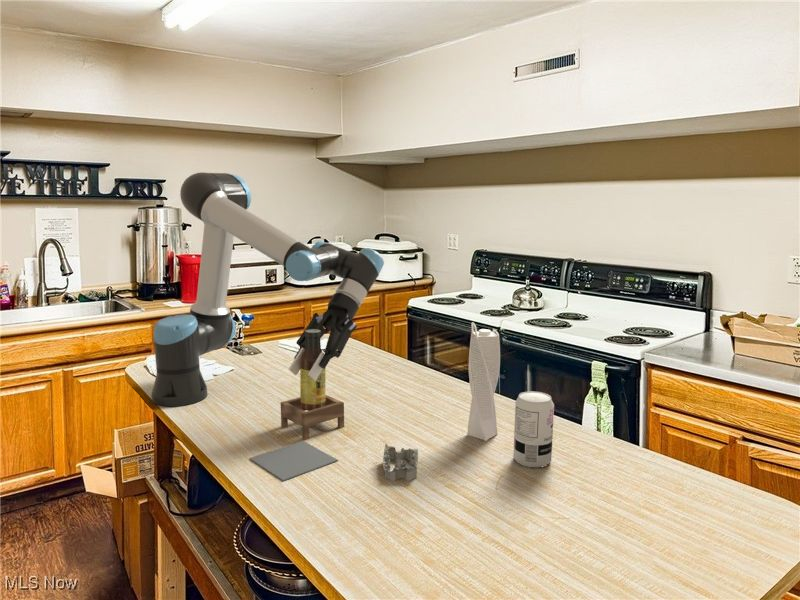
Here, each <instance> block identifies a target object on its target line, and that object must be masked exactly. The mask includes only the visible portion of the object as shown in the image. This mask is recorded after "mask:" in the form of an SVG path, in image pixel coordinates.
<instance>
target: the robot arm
mask: <svg viewBox="0 0 800 600" xmlns="http://www.w3.org/2000/svg"><path fill="white" fill-rule="evenodd" d="M179 196H180V200H181V203H182V205H183V207H184V208H185V210H186V211H187V212H189V213H190V214H191V215H192V216H194V217H195V218H196V219H198V220H200V221H202V222H203V226H204V227H203V234H202V235H203V236H202V243H201V244H202V245H201V255H200V263H199V266H200V267H199V272H198V273H199V274H198V282H197V283H198V284H197V293H196V300H195V302H194V303H193V304H191V305H190V309H189V314H187V313H186V314H185V313H184V314H183V313H182V314H175V315H170V316H166V317H163V318H162V319H159V320H158V321H157V322H155V324H154V327H153V343H154V345H153V346H154V354H155V355H154V357H155V366H156V367H155V368H156V376H155V380H154V384H153V386H152V390H151V401H152V403H153V404H155V405H157V406H161V407H181V406H182V407H183V406H186V405H191V404H196V403H198V402H201V401H203V400H205V399H206V398H207V397H208V386H207V383H206V382H205V379H204V376H203V374H202V371H201V369H200V368H201V367H200V356H203V355H205V354H209V353H210V352H213V351H218V350H220V349H222V348H223V347H225V346H227V345H229V343H231V342H232V341H233V338H234V337H235V333H236V328H237V327H236V321H235V320H234V319H233V318H234V317H233V316H232V314H231V308H229V306H228V305H227V297H228V288H229V280H230V272H231V264H232V255H233V246H234V239H235V238H236V239H238V240H240V241H241V242H243V243H245V244H247V245H248V246H250V247H251V248H253V249H255V250H257V251H258V252H260V253H261V254H263V255H265V256H266V257H268V258H269V259H271V260H273V261H275V263H278V264H279V265H281V266H282V267H284V268H285V270H286V272H287V273H288V275H289V277H290V278H291V279H293V280H294V281H298V282H304V281H305V282H309V281H312V280H314V279H318V278H322V277H325V276H329V275H334V276H336V277H338V278H341V279H342V281H340V283H339V285H338V287H337V288H336V290H335V293H334V294H333V295H332V296H331V298H330V300H329V302H328V303H327V310H326V311H324V312H323V314H318V312H315V313H314V314H313V316H312V318H311V321H310V322H308V325H307V326H306V327H305V329H304V330H303V332H302V333H301V335H300V336H299V337H298V339H297V341H296V342H295V343H296V344H297V346H298V347H299V349H298V350H297V352H296V353H295V356H294V360H293V361H292V363H291V364H290V366H289V367H288V370H289V371H290V373H292V374H293V375H294V376H297V375H298V373H299V371H300V367H301V356H302V353H303V352H304V351H305V349H306V348H305V330H309V329H318V330H320V331H321V337H320V339H322V337H323V336H325V335H327V334H328V333H329V332H330V333H329V334H328V335H329V336H328V339H327V343H326V345H325V349H322V352H321V353H320V355H319V357H318V358H317V360H316V362H315V363H314V365H313V367H312V368H311V370H310V372H309V373H308V375H309V376H310V377H311V378H312V379H313V380H314V381H316V380H317V378H318V376H319V375H320V373H321V371H322V369H324V368H325V367H326V368H327V366H328V364H329V363H330V361H331V359H333V358H335V357H336V358H337V359H338V358H339V357H341V355H342V353H343V351H344V349H345V347H346V345H347V343H348V341H349V339H350V337H351V335H352V333H353V332H354V331H355V330H356V329H357V328H358V326H357V324H356V323H355V322H354V321H353V319H354V318H355V316H356V314H357V312H358V310H359V309H360V308H359V307H361V305H362V304H363V302H364V301H365V299H366V297H367V295H368V293H369V292H370V290H371V288H372V287H373V285H374V284H375V282H376V281H377V279H378V277H380V276H379V275H380V273H381V272H382V270H383V266H384V265H385V261H384V258H383V256H382V255H381V254H380V252H378V251H377V250H375V249H372V248H368V247H364V248H362V249H361V250H360V251H359V252H358V253H355V252H353V251H350V250H348V249H344V248H342V247H339V246H336V245H334V244H332V243H329V242H325V241H321V240H319V241H316V242H315V243H314V244H313V245H311V247H309V246H308V245H306V244H304V243H303V242H300V240H297V239H296V238H295V237H292V236H291V235H290V234H287V233H286V232H284V231H282V229H281V230H280V229H279V228H278V227H276V226H274V225H272V224H271V223H269V222H268V221H266V220H264V219H262V218H260V217H259V216H257V215H256V214H254V213H252V212H251V211H249V210H248V209H249V207H250V206H251V201H252V193H251V189H250V187H249V185H248V183H246V181H245V180H244V179H243V178H242V177H240V176H238V175H236V174H231V173H229V172H227V173H226V172H196V173H193V174H191V175H189V176H188V177H186V179H185V180H184V181H183V183H182V184H181V187H180V194H179ZM234 237H235V238H234Z"/></svg>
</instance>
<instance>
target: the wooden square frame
mask: <svg viewBox="0 0 800 600" xmlns="http://www.w3.org/2000/svg"><path fill="white" fill-rule="evenodd" d="M336 419H337V428H340V429H343V428H345V402H343V401H341V400H339V399H337V398H334V397H332V396H329V395H327V394H325V406H323V407H320V408H316V409H313V410H310V411H308V410H304V409H302V407H301V398H300V397H296V398H293V399H288V400H283V401H281V402H280V422H281V423H280V426H281V428H282V429H286V428H289V421H290V422H293V423H294V424H296V425H298V426H300V427H301V430H302V431H301V434H302V435H301V436H302V437H301V438H302V439H303V440H304V441H306V440H308V439H310V427H312V426H315V425H319V424H322V423H325V422H329V421H331V420H332V421H333V420H336ZM288 420H289V421H288Z"/></svg>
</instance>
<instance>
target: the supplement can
mask: <svg viewBox="0 0 800 600" xmlns="http://www.w3.org/2000/svg"><path fill="white" fill-rule="evenodd" d="M514 404H515V405H514V406H515V408H514V430H513V459H514V460H515V461H516V462H517V463H518V464H519V463H520V464H521V466H522V465H524V466H523V467H526V466H528V467H527V468H530V467H541V468H543V467H542V466H545V465H546V466H548V465H549V464H550V463H551V462H552V454H553V453H552V452H553V434H554V414H555V403H554V402H553V400H552V396H551V395H550V394H548V393H545V392H541V391H533V390H532V391H531V390H529V391H524V392H523V391H522V392H520V393H519V394H518V397H517V399H516V400H515V403H514ZM520 464H519V465H520ZM547 464H548V465H547ZM546 466H545V467H546Z"/></svg>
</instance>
